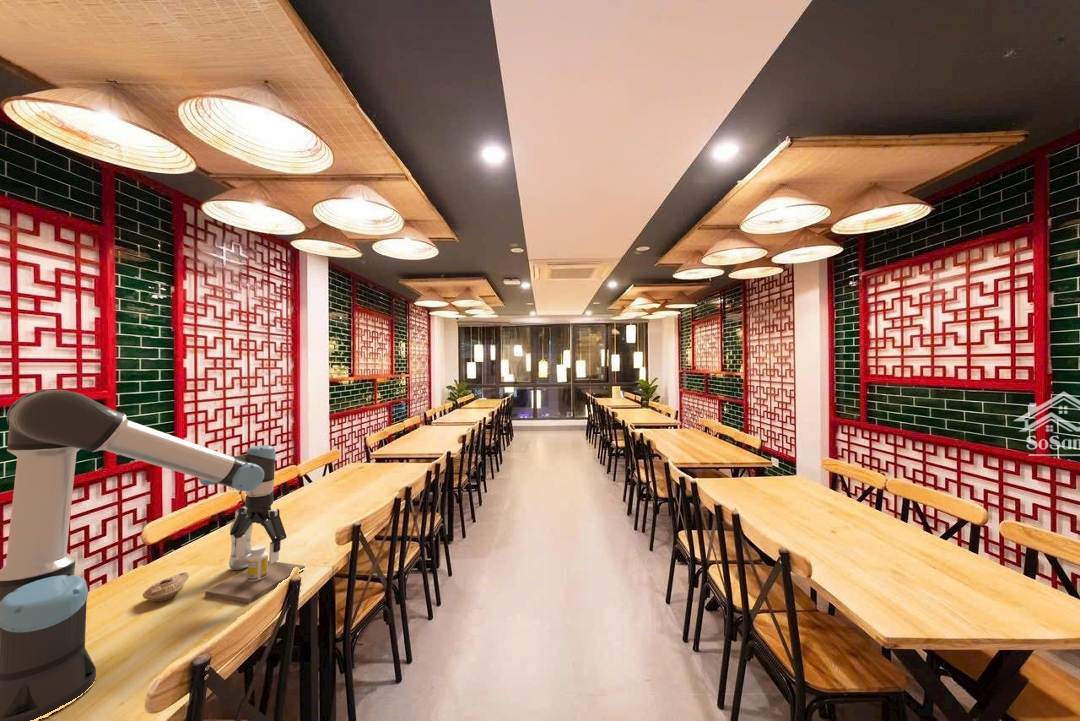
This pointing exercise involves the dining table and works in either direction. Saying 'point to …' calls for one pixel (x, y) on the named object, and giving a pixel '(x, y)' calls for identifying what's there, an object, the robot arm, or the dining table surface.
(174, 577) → the pottery oil lamp
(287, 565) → the serving board
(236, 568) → the plastic bottle
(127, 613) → the dining table surface
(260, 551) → the supplement bottle
